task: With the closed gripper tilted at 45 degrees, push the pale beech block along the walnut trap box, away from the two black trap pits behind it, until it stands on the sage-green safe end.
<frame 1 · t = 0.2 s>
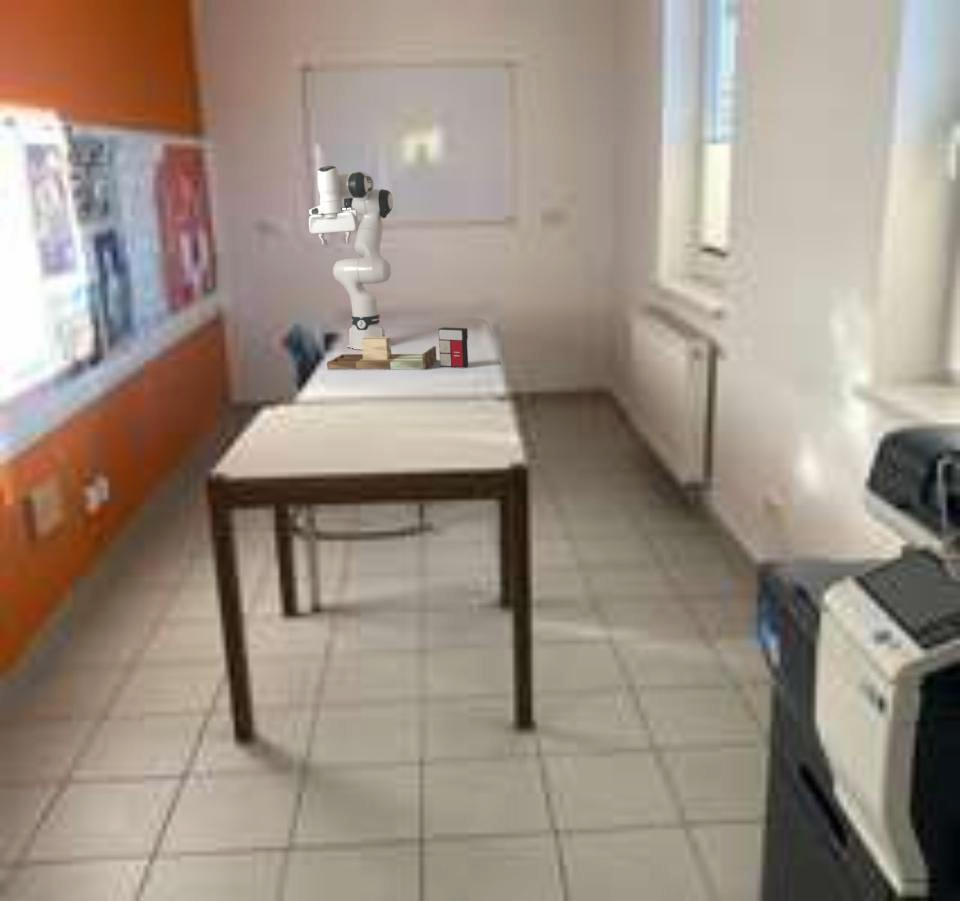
hand: (335, 243, 398), 47 cm above the table, tool pointing down, fingers open, 8 cm apart
toy cabinet: (454, 367, 387), on the table
trap box: (382, 365, 396), on the table
block: (377, 358, 395), point 3 cm above the table, touching trap box
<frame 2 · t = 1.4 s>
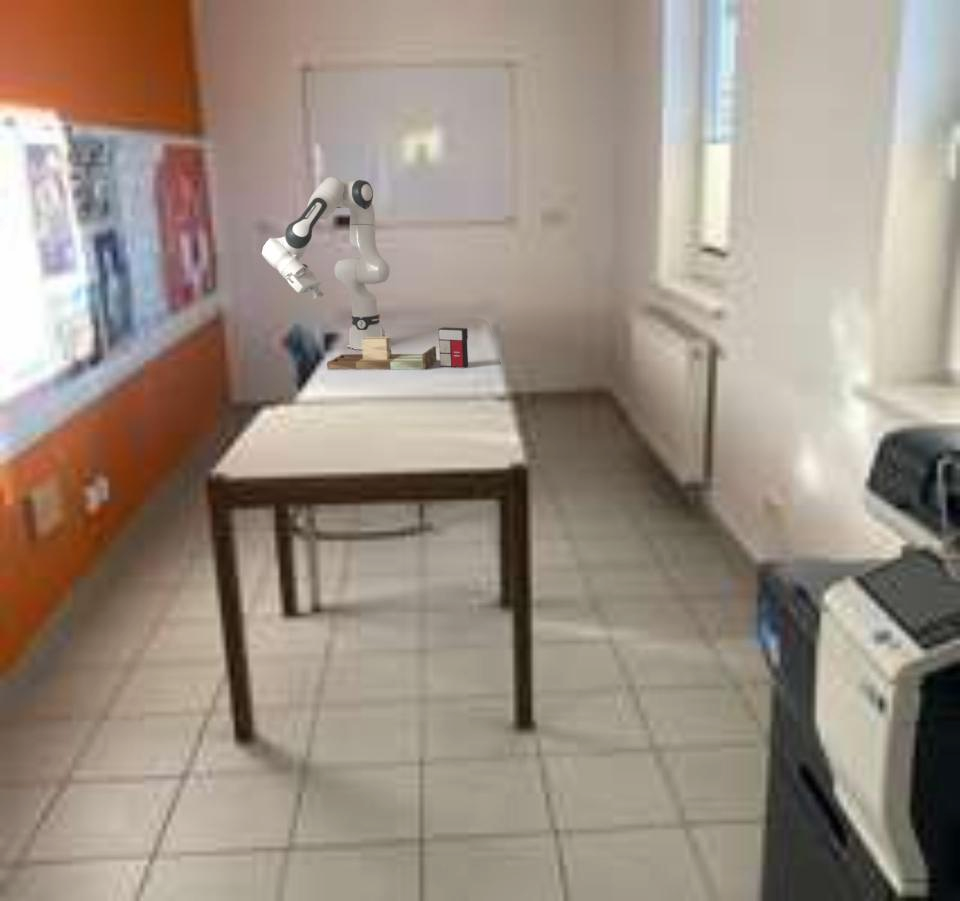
hand: (319, 296, 396), 27 cm above the table, tool tilted 45°, fingers open, 5 cm apart
nothing on the table moved.
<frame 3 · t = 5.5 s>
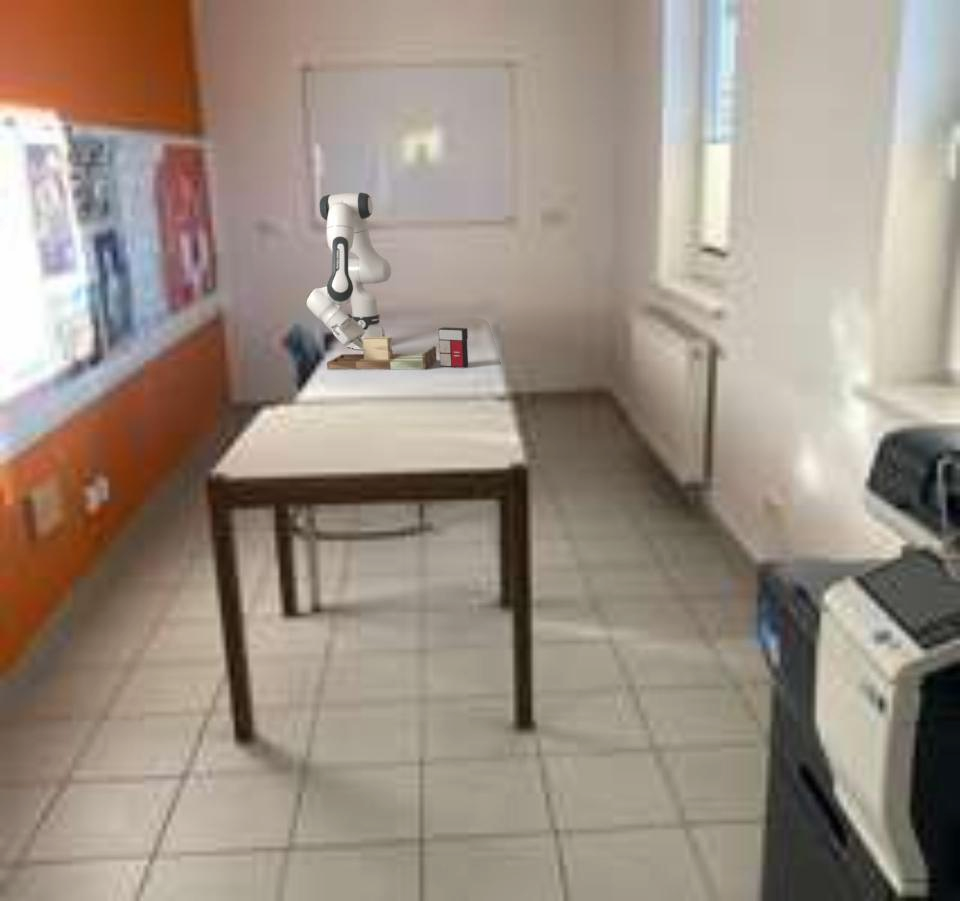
hand: (364, 347, 395), 7 cm above the table, tool tilted 45°, fingers closed, pressing on block
block: (378, 358, 395), point 3 cm above the table, touching gripper
everything else where it was.
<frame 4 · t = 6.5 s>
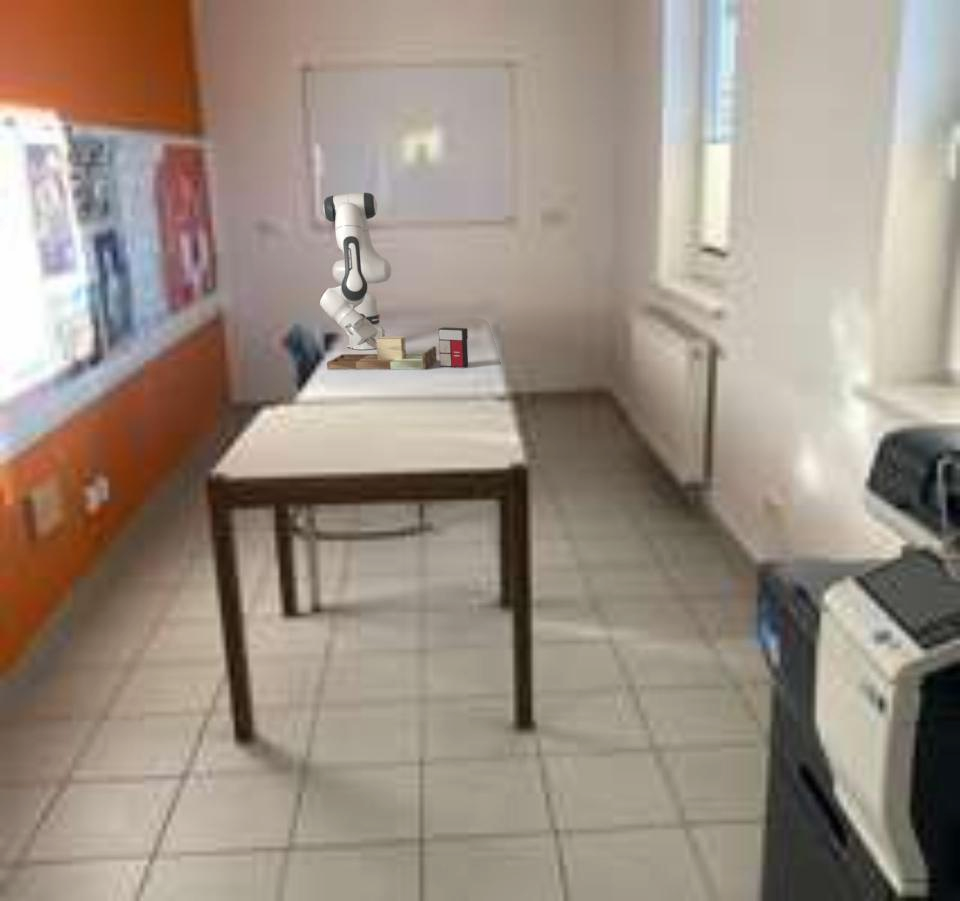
hand: (377, 347, 394), 7 cm above the table, tool tilted 45°, fingers closed
block: (391, 358, 394), point 3 cm above the table, touching trap box
everything else where it was.
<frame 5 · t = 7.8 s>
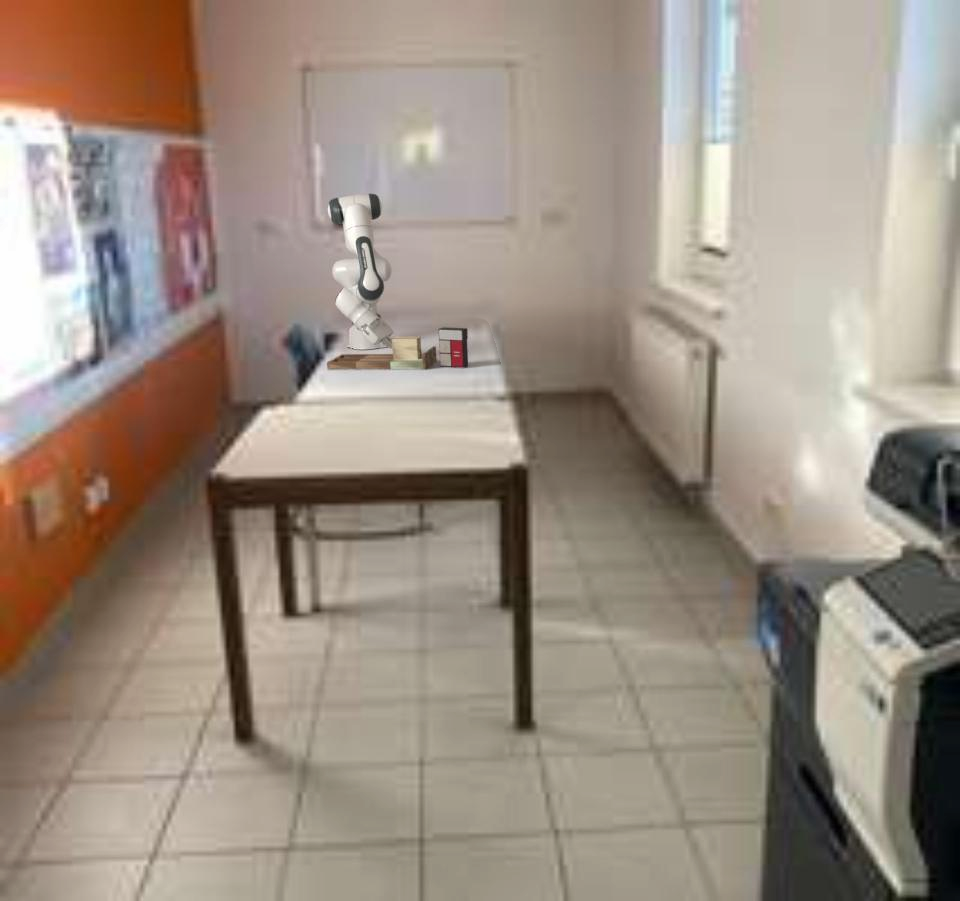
hand: (393, 347, 393), 7 cm above the table, tool tilted 45°, fingers closed, pressing on block
block: (407, 358, 392), point 3 cm above the table, touching gripper, trap box
everything else where it was.
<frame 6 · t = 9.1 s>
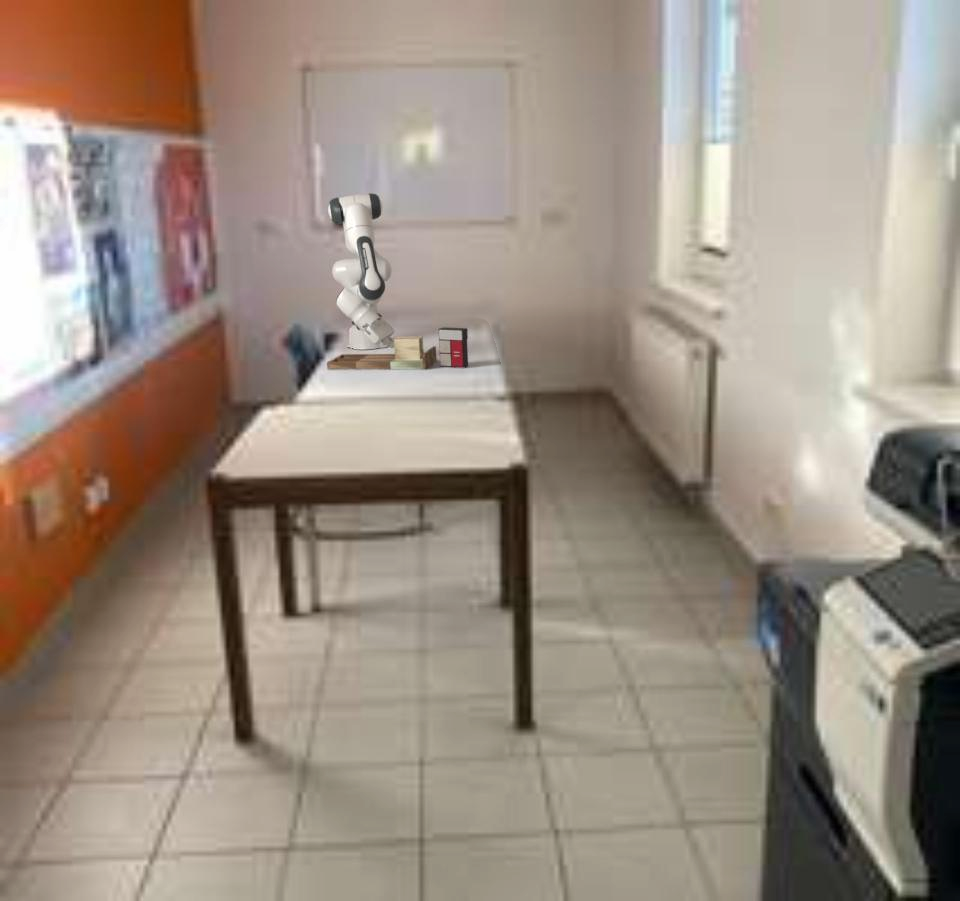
hand: (394, 346, 393), 8 cm above the table, tool tilted 45°, fingers closed
block: (409, 358, 392), point 3 cm above the table, touching trap box
everything else where it was.
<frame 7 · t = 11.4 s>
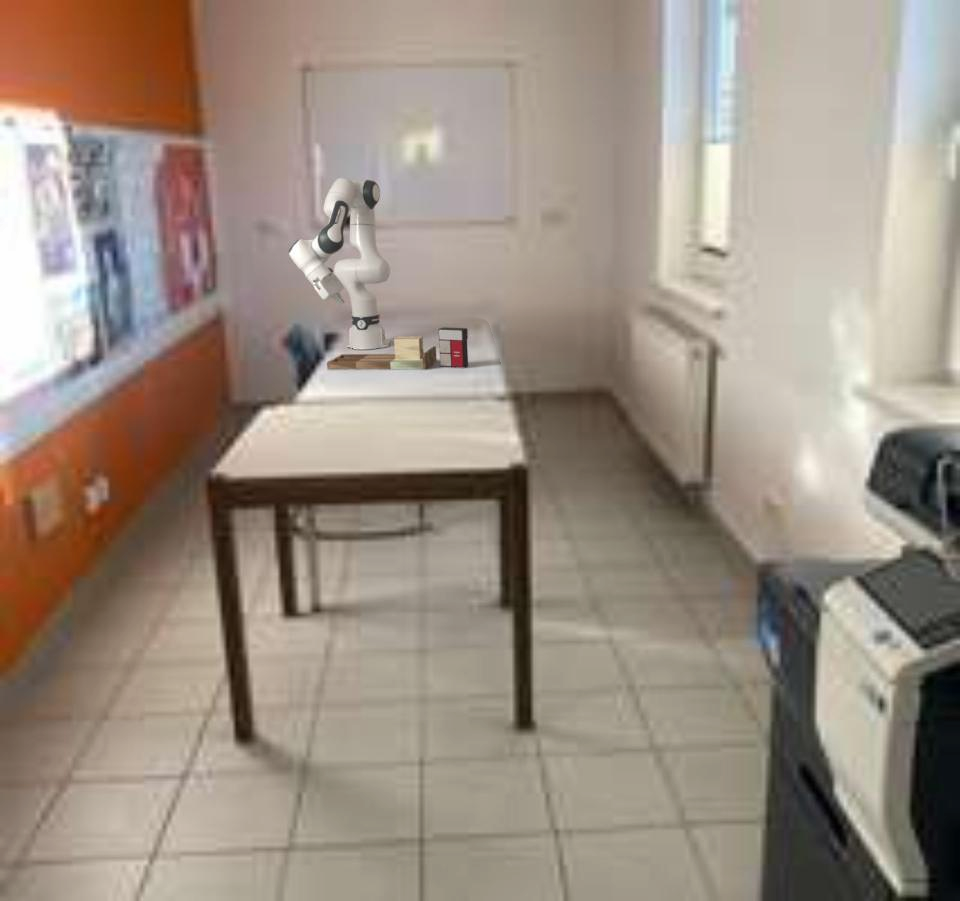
hand: (342, 303, 395), 24 cm above the table, tool tilted 35°, fingers closed
nothing on the table moved.
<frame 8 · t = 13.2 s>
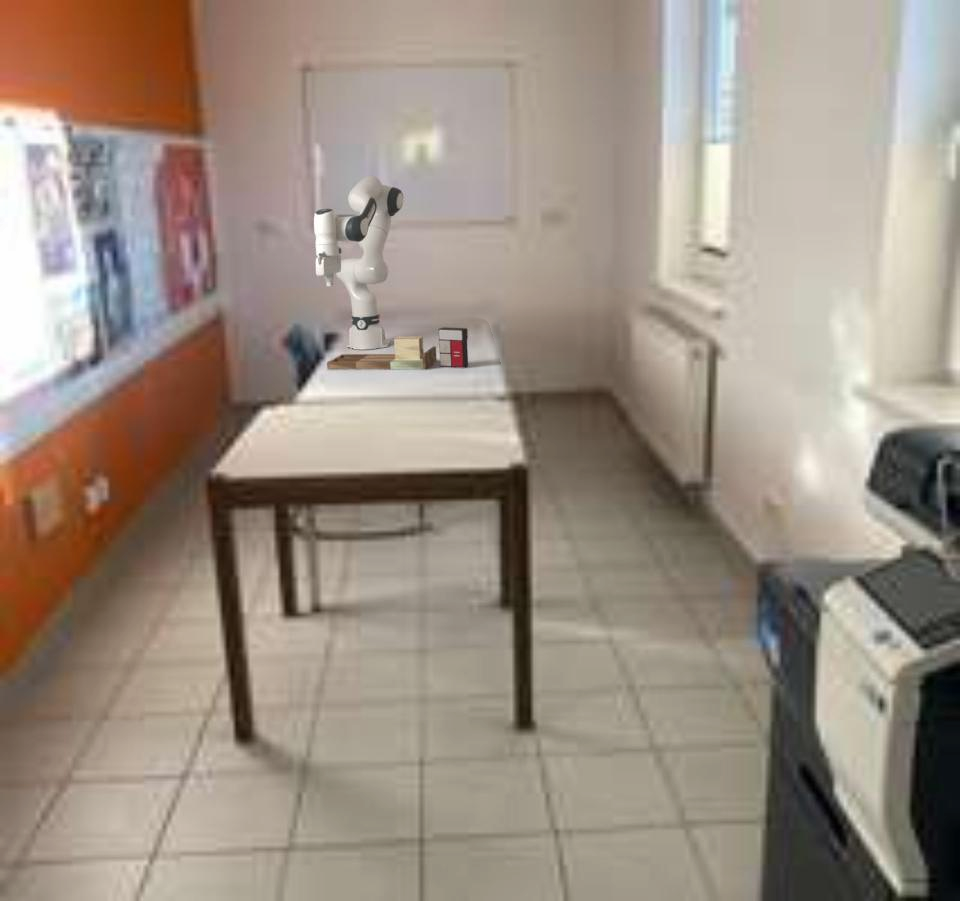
hand: (330, 286, 398), 31 cm above the table, tool pointing down, fingers closed
nothing on the table moved.
at the end: block inside the target area (1.8 cm from its centre), point 3.0 cm above the table; block tilted 0° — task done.
